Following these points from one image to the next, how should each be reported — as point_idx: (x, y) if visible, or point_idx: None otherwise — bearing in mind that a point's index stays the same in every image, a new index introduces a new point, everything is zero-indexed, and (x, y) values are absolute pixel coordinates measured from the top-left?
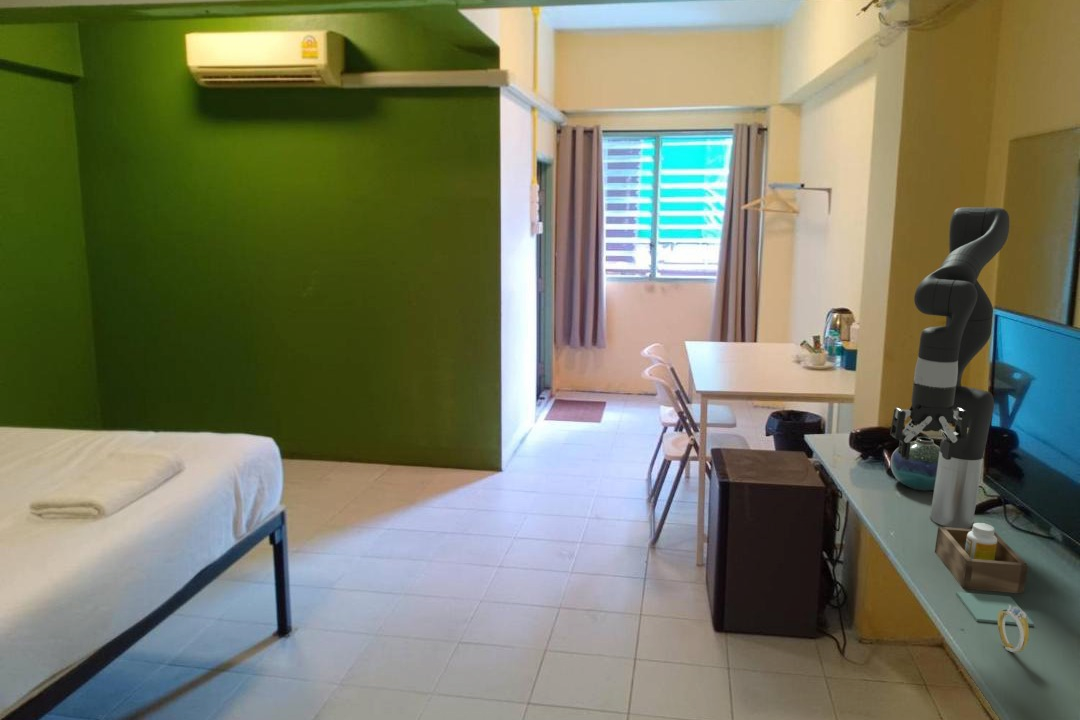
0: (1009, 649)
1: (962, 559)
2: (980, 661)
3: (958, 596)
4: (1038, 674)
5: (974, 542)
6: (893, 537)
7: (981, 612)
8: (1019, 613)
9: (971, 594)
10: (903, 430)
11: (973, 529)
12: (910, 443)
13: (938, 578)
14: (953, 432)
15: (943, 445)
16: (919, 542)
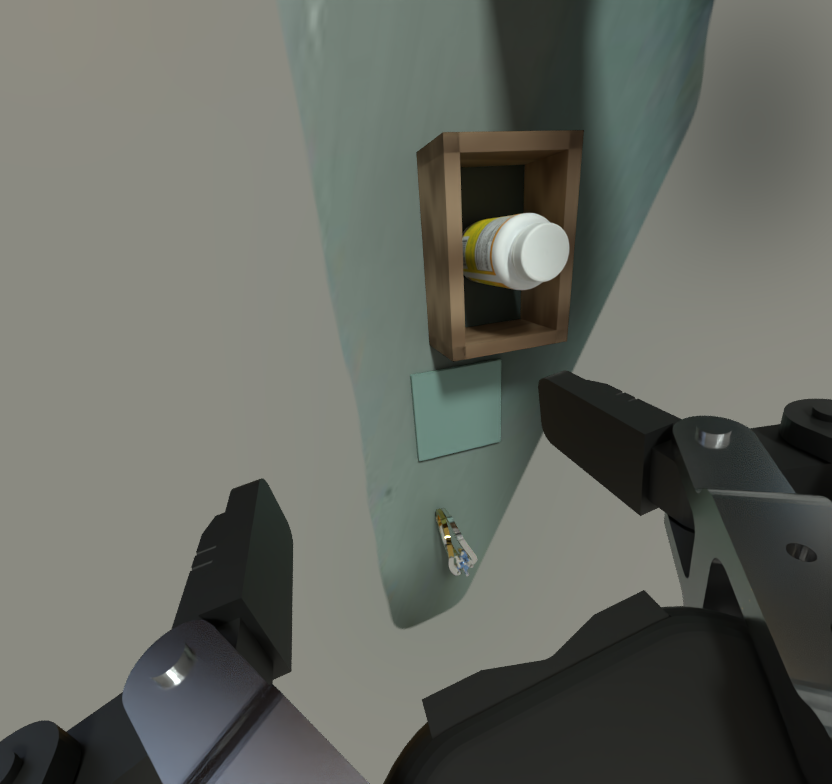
0: (438, 527)
1: (448, 334)
2: (392, 560)
3: (411, 386)
4: None
5: (498, 279)
6: (316, 55)
7: (433, 437)
8: (466, 575)
9: (436, 376)
10: (163, 770)
11: (515, 257)
12: (289, 669)
13: (391, 313)
14: (792, 471)
15: (597, 411)
16: (389, 85)
